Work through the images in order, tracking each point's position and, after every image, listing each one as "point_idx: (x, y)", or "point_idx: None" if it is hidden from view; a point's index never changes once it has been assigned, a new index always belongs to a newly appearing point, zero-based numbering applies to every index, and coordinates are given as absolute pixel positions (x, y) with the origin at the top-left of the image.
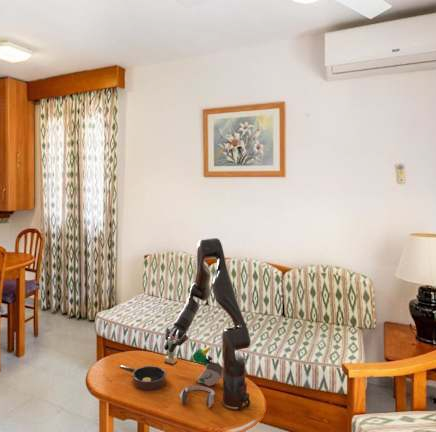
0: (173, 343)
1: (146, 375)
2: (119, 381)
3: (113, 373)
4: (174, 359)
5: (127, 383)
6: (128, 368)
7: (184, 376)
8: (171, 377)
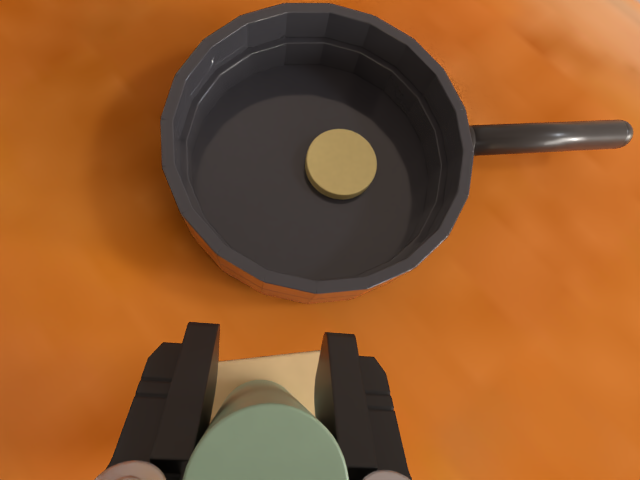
0: (147, 461)
1: (405, 232)
2: (491, 67)
3: None
4: None
5: None
6: (542, 124)
7: None
8: None
